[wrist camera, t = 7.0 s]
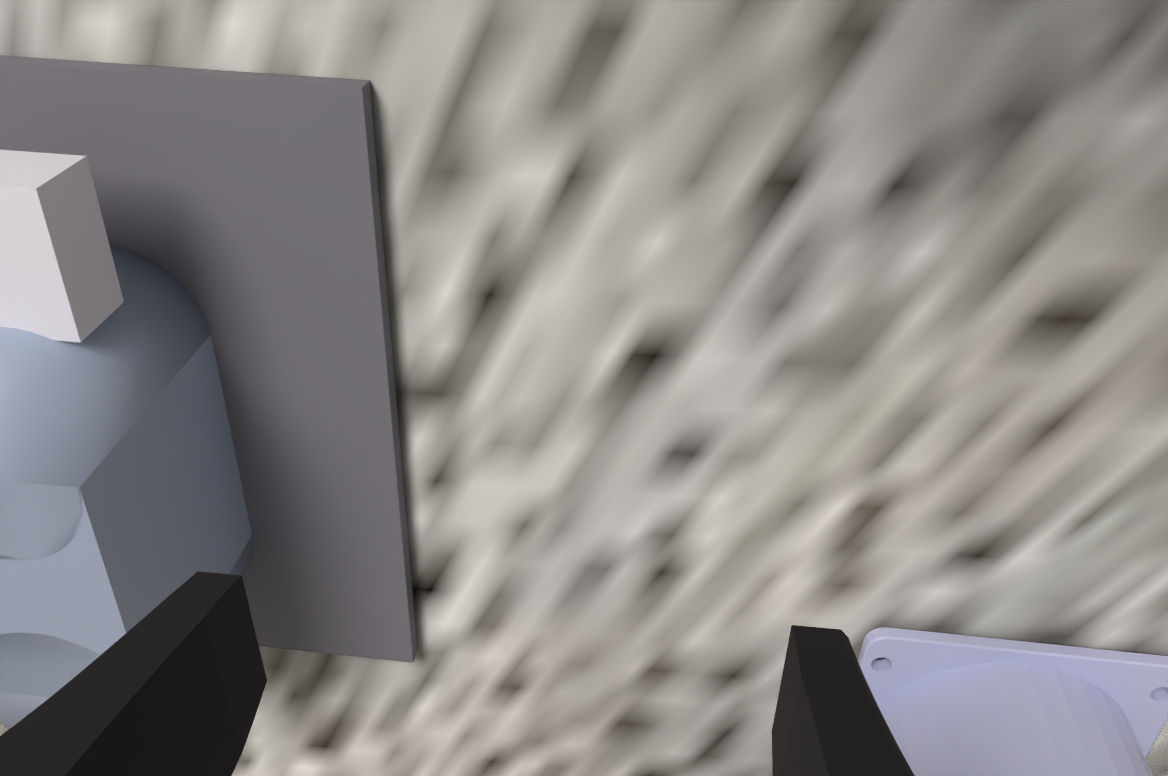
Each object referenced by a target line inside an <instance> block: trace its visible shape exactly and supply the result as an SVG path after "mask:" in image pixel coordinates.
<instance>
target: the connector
mask: <svg viewBox="0 0 1168 776" xmlns="http://www.w3.org/2000/svg"><path fill="white" fill-rule="evenodd" d="M252 547H253V540H252V533H251V528H250V523H249V518H248V514H247V509H246V504H245V499H244V494H243V489H242V484H241V479H240V474H239V469H238V464H237V460H236V455H235V450H234V445H233V440H232V435H231V430H230V425H229V420H228V415H227V410H226V406H225V401H224V396H223V391H222V386H221V381H220V376H219V371H218V366H217V361H216V357H215V352H214V347H213V342H212V337H211V333H210V329H209V325H208V322H207V320H206V318H205V315H204V313H203V311H202V310H201V308H200V306H199V304H198V303H197V301H196V300H195V298H194V297H193V296H192V294H191V293H190V292H189V291H188V290H187V289H186V287H185V286H184V285H183V284H182V283H181V282H180V281H179V280H178V279H176V278H175V277H174V276H173V275H172V274H171V273H169V272H168V271H167V270H165V269H164V268H163V267H161V266H159V265H158V264H156V263H155V262H153V261H151V260H149V259H147V258H145V257H143V256H141V255H138V254H136V253H133V252H130V251H127V250H124V249H120V248H115V247H110V245H109V241H108V237H107V234H106V230H105V226H104V222H103V218H102V214H101V210H100V206H99V202H98V198H97V194H96V190H95V186H94V183H93V179H92V175H91V171H90V167H89V163H88V159H87V156H81V155H68V154H54V153H40V152H26V151H12V150H0V723H1V724H2V725H4V726H5V727H6V728H8V729H10V728H12V727H13V726H14V725H15V724H17V723H18V722H19V721H21V720H22V719H23V718H24V717H26V716H27V715H28V714H30V713H31V712H32V711H33V710H35V709H36V708H37V707H38V706H40V705H41V704H42V703H44V702H45V701H46V700H47V699H49V698H50V697H51V696H52V695H54V694H55V693H56V692H57V691H58V690H60V689H61V688H62V687H63V686H64V685H66V684H67V683H68V682H69V681H70V680H72V679H73V678H74V677H75V676H76V675H77V674H79V673H80V672H81V671H82V670H83V669H85V668H86V667H87V666H88V665H89V664H91V663H92V662H93V661H94V660H95V659H97V658H98V657H99V656H100V655H101V654H102V653H104V652H105V651H106V650H107V649H108V648H109V647H111V646H112V645H113V644H114V643H115V642H116V641H118V640H119V639H120V638H121V637H122V636H123V635H124V634H126V633H127V632H128V631H129V630H130V629H131V628H133V627H134V626H135V625H136V624H137V623H138V622H139V621H141V620H142V619H143V618H144V617H145V616H146V615H147V614H149V613H150V612H151V611H152V610H153V609H154V608H155V607H157V606H158V605H159V604H160V603H161V602H162V601H164V600H165V599H166V598H167V597H168V596H169V595H170V594H172V593H173V592H174V591H175V590H176V589H177V588H179V587H180V586H181V585H182V584H183V583H185V582H186V581H187V580H188V579H189V578H191V577H192V576H193V575H194V574H195V573H196V572H198V571H199V572H210V573H221V574H232V575H241V574H242V572H243V570H244V568H245V567H246V565H247V563H248V561H249V559H250V557H251V553H252Z"/></svg>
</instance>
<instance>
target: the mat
mask: <svg viewBox="0 0 1168 776" xmlns="http://www.w3.org/2000/svg"><path fill="white" fill-rule="evenodd" d="M0 150H12V151H26V152H40V153H54V154H68V155H81V156H87V159H88V163H89V167H90V171H91V175H92V179H93V183H94V186H95V190H96V194H97V198H98V202H99V206H100V210H101V214H102V218H103V222H104V226H105V230H106V234H107V237H108V241H109V245H110V247H115V248H120V249H124V250H127V251H130V252H133V253H136V254H138V255H141V256H143V257H145V258H147V259H149V260H151V261H153V262H155V263H156V264H158V265H159V266H161V267H163V268H164V269H165V270H167V271H168V272H169V273H171V274H172V275H173V276H174V277H175V278H176V279H178V280H179V281H180V282H181V283H182V284H183V285H184V286H185V287H186V289H187V290H188V291H189V292H190V293H191V294H192V296H193V297H194V298H195V300H196V301H197V303H198V304H199V306H200V308H201V310H202V311H203V313H204V315H205V318H206V320H207V322H208V325H209V329H210V333H211V337H212V342H213V347H214V352H215V357H216V361H217V366H218V371H219V376H220V381H221V386H222V391H223V396H224V401H225V406H226V410H227V415H228V420H229V425H230V430H231V435H232V440H233V445H234V450H235V455H236V460H237V464H238V469H239V474H240V479H241V484H242V489H243V494H244V499H245V504H246V509H247V514H248V518H249V523H250V528H251V533H252V540H253V547H252V553H251V557H250V559H249V561H248V563H247V565H246V567H245V568H244V570H243V572H242V574H241V575H242V579H243V583H244V587H245V591H246V595H247V599H248V604H249V608H250V612H251V616H252V620H253V624H254V629H255V633H256V637H257V641H258V645H259V646H266V647H275V648H284V649H293V650H302V651H312V652H321V653H330V654H339V655H348V656H358V657H367V658H376V659H385V660H394V661H403V662H413V661H414V658H415V655H416V652H417V637H416V625H415V613H414V601H413V589H412V577H411V566H410V554H409V542H408V530H407V518H406V506H405V494H404V483H403V471H402V459H401V447H400V435H399V423H398V411H397V400H396V388H395V376H394V364H393V352H392V340H391V329H390V317H389V305H388V293H387V281H386V269H385V257H384V246H383V234H382V222H381V210H380V198H379V186H378V174H377V163H376V151H375V139H374V127H373V115H372V103H371V91H370V81H368V80H353V79H338V78H324V77H309V76H294V75H279V74H264V73H249V72H234V71H220V70H205V69H190V68H175V67H160V66H145V65H131V64H116V63H101V62H86V61H71V60H56V59H42V58H27V57H12V56H0Z"/></svg>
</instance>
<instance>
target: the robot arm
mask: <svg viewBox="0 0 1168 776" xmlns="http://www.w3.org/2000/svg"><path fill="white" fill-rule="evenodd" d="M883 657H884V659H881V660H876V659H877V658H883ZM266 682H267V678H266V674H265V670H264V666H263V662H262V658H261V653H260V649H259V645H258V641H257V637H256V633H255V629H254V624H253V620H252V616H251V612H250V608H249V604H248V599H247V595H246V591H245V587H244V583H243V579H242V575H232V574H221V573H210V572H199V571H198V572H196V573H195V574H194V575H193V576H192V577H191V578H189V579H188V580H187V581H186V582H185V583H183V584H182V585H181V586H180V587H179V588H177V589H176V590H175V591H174V592H173V593H172V594H170V595H169V596H168V597H167V598H166V599H165V600H164V601H162V602H161V603H160V604H159V605H158V606H157V607H155V608H154V609H153V610H152V611H151V612H150V613H149V614H147V615H146V616H145V617H144V618H143V619H142V620H141V621H139V622H138V623H137V624H136V625H135V626H134V627H133V628H131V629H130V630H129V631H128V632H127V633H126V634H124V635H123V636H122V637H121V638H120V639H119V640H118V641H116V642H115V643H114V644H113V645H112V646H111V647H109V648H108V649H107V650H106V651H105V652H104V653H102V654H101V655H100V656H99V657H98V658H97V659H95V660H94V661H93V662H92V663H91V664H89V665H88V666H87V667H86V668H85V669H83V670H82V671H81V672H80V673H79V674H77V675H76V676H75V677H74V678H73V679H72V680H70V681H69V682H68V683H67V684H66V685H64V686H63V687H62V688H61V689H60V690H58V691H57V692H56V693H55V694H54V695H52V696H51V697H50V698H49V699H47V700H46V701H45V702H44V703H42V704H41V705H40V706H38V707H37V708H36V709H35V710H33V711H32V712H31V713H30V714H28V715H27V716H26V717H24V718H23V719H22V720H21V721H19V722H18V723H17V724H15V725H14V726H13V727H12V728H10V729H9V730H8V731H6V732H5V733H4V734H3V735H1V736H0V776H231V775H232V773H233V771H234V769H235V767H236V764H237V762H238V760H239V758H240V756H241V754H242V751H243V748H244V746H245V743H246V740H247V737H248V735H249V732H250V729H251V726H252V723H253V721H254V718H255V715H256V712H257V709H258V706H259V703H260V700H261V697H262V694H263V691H264V688H265V685H266ZM1167 719H1168V656H1160V655H1151V654H1141V653H1131V652H1122V651H1112V650H1102V649H1092V648H1083V647H1073V646H1063V645H1054V644H1044V643H1034V642H1024V641H1015V640H1005V639H995V638H986V637H976V636H966V635H956V634H947V633H937V632H927V631H917V630H908V629H898V628H888V627H882V628H877V629H874V630H872V631H870V632H869V633H867V635H866V636H865V638H864V640H863V644H862V648H861V651H860V655H859V658H858V661H857V658H856V656H855V654H854V651H853V649H852V646H851V644H850V641H849V638H848V637H847V636H846V635H845V634H844V632H843V631H842V630H838V629H827V628H816V627H805V626H794V625H792V627H791V632H790V637H789V643H788V648H787V653H786V659H785V664H784V669H783V675H782V680H781V686H780V691H779V696H778V702H777V707H776V712H775V718H774V723H773V728H772V757H773V776H1153V775H1152V773H1151V771H1150V769H1149V766H1148V764H1147V762H1146V759H1145V758H1146V756H1147V754H1148V752H1149V751H1150V749H1151V747H1152V745H1153V743H1154V742H1155V740H1156V738H1157V736H1158V735H1159V733H1160V731H1161V729H1162V727H1163V726H1164V724H1165V722H1166V720H1167Z"/></svg>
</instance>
